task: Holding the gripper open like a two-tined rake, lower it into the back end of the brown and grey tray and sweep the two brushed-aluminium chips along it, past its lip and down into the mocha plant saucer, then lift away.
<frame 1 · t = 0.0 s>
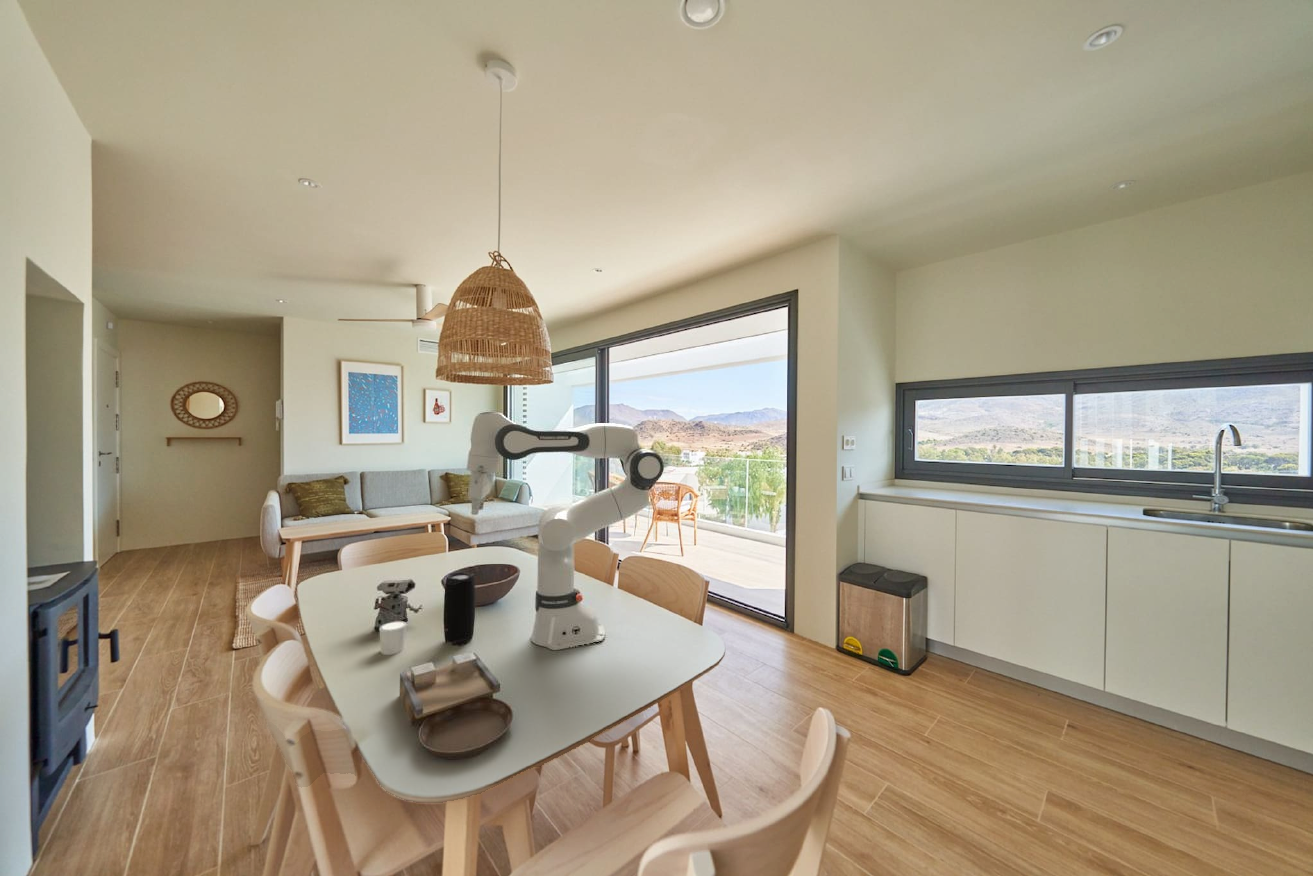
hand: (477, 511, 135), 39 cm above the table, tool pointing down, fingers open, 8 cm apart
brown and grey tray: (448, 701, 105), on the table
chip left: (464, 670, 111), point 4 cm above the table, touching brown and grey tray
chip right: (423, 681, 105), point 4 cm above the table, touching brown and grey tray
plant saucer: (467, 737, 93), on the table
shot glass: (392, 650, 130), on the table
portable speaker: (458, 641, 136), on the table
figurine: (396, 628, 145), on the table
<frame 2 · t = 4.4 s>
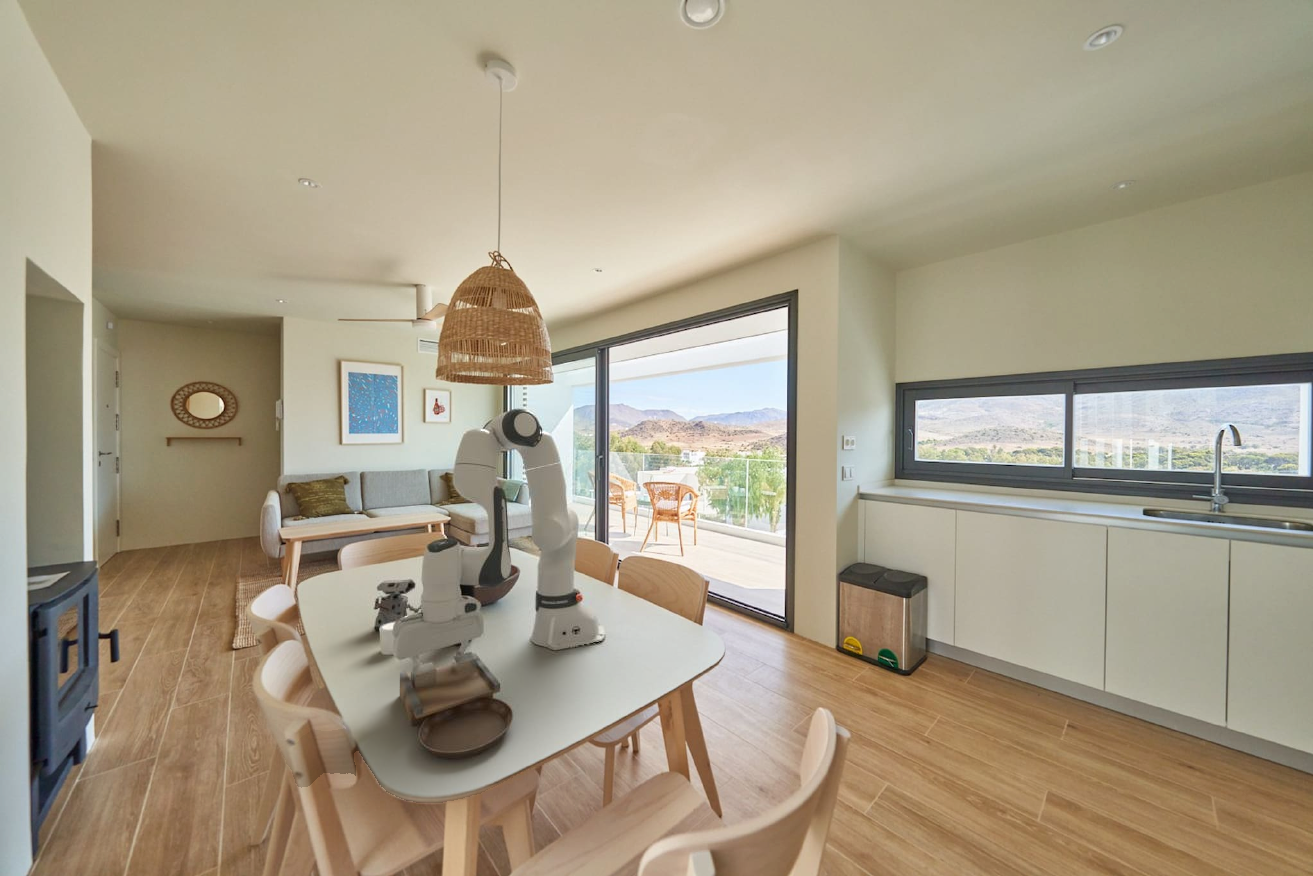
hand: (439, 665, 110), 5 cm above the table, tool pointing down, fingers open, 8 cm apart
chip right: (423, 681, 105), point 4 cm above the table, touching gripper
everything else where it was.
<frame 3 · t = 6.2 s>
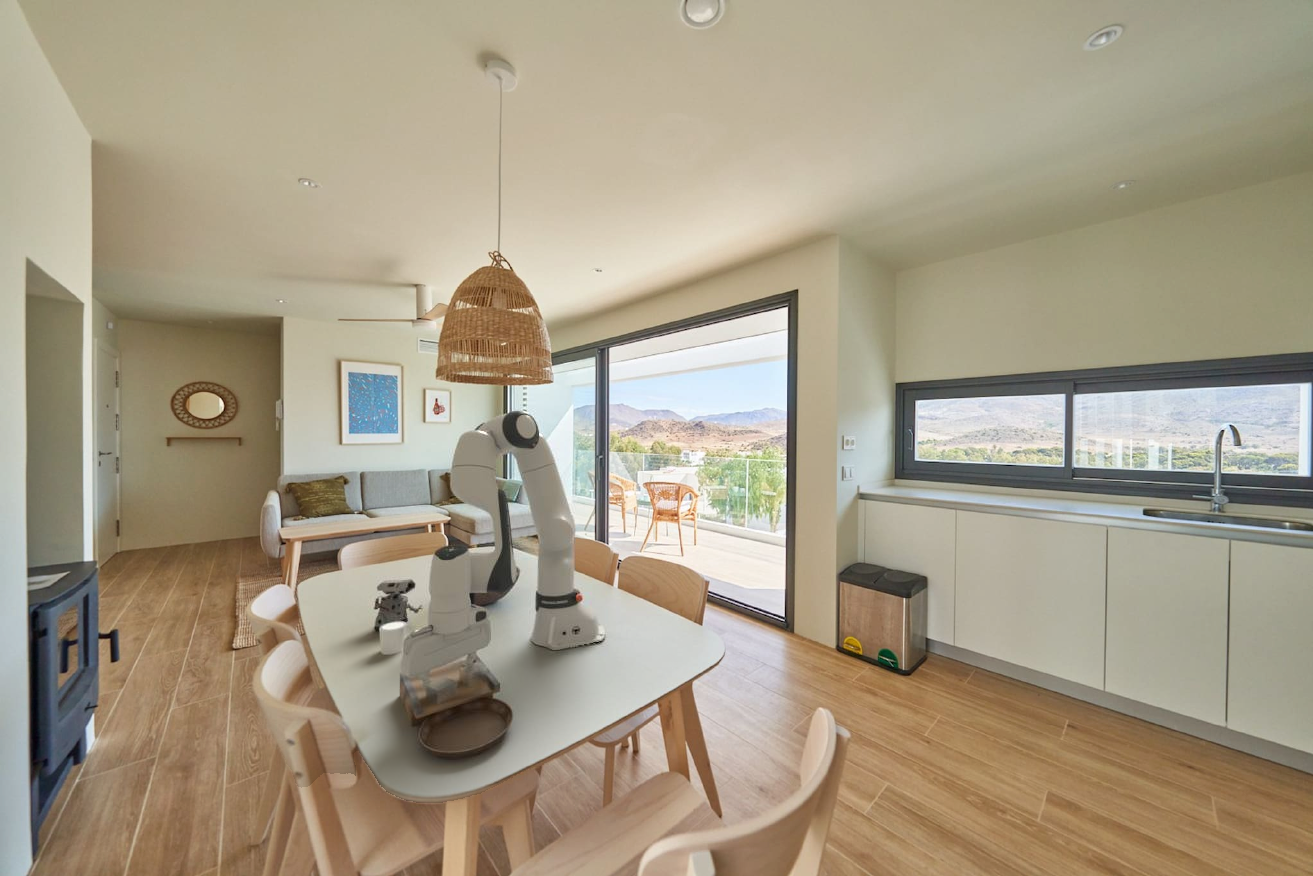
hand: (448, 679, 104), 5 cm above the table, tool pointing down, fingers open, 8 cm apart
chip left: (473, 681, 106), point 4 cm above the table, touching gripper
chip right: (441, 697, 99), point 4 cm above the table, touching brown and grey tray
everything else where it was.
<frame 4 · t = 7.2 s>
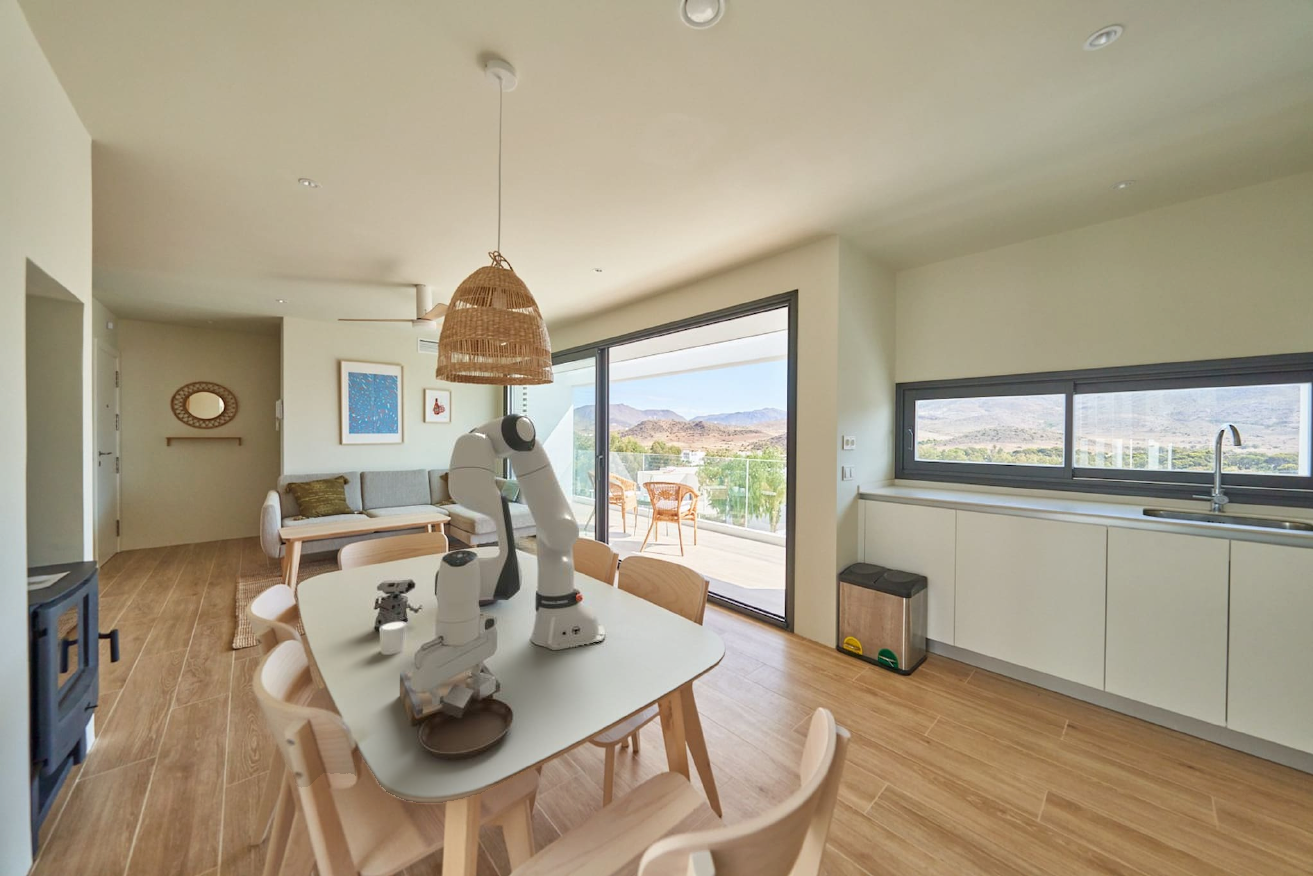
hand: (456, 692, 98), 5 cm above the table, tool pointing down, fingers open, 8 cm apart
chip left: (480, 692, 101), point 4 cm above the table, touching gripper
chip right: (456, 706, 96), point 4 cm above the table, tilted 25°, touching gripper, plant saucer, brown and grey tray
plant saucer: (467, 737, 93), on the table, touching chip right
everything else where it was.
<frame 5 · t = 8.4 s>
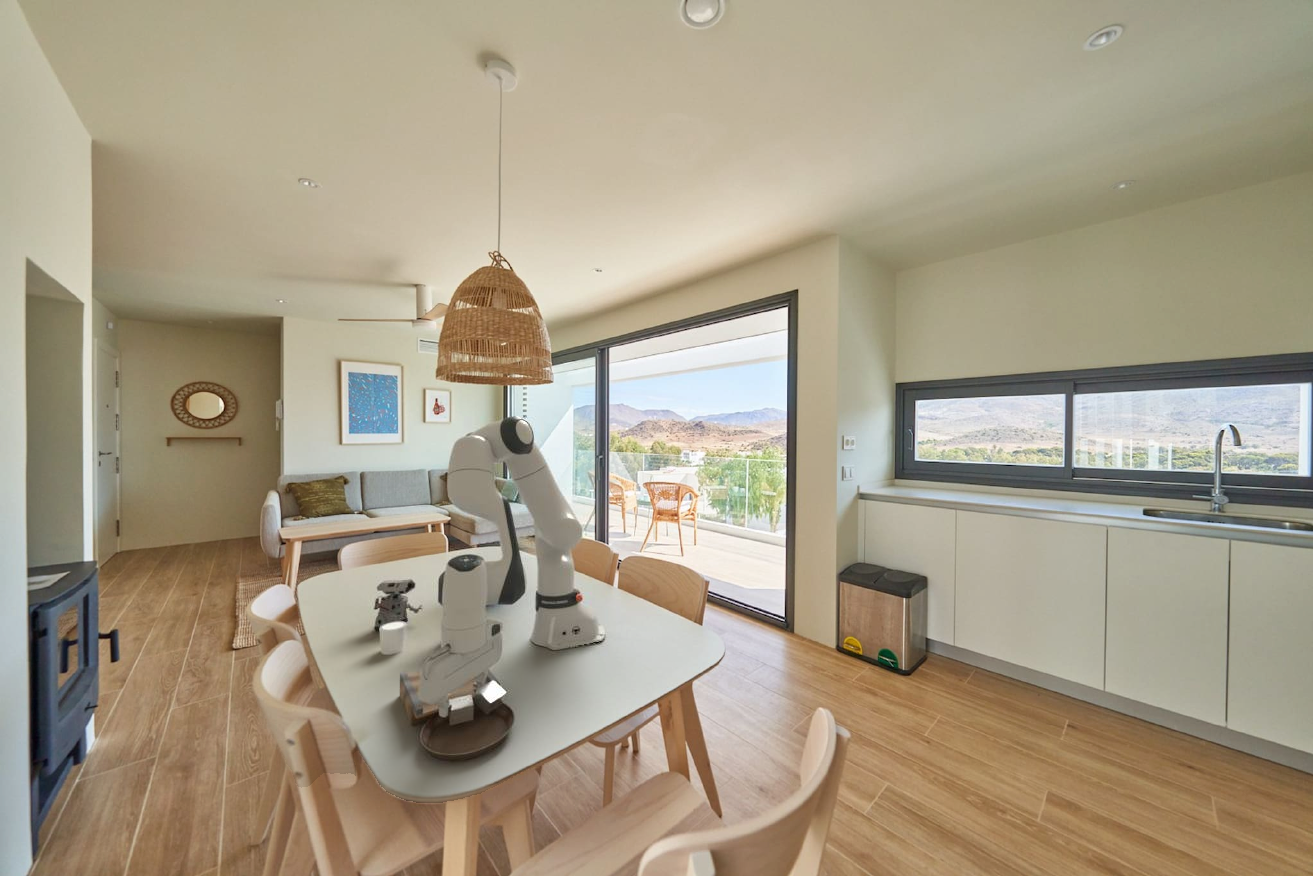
hand: (462, 702, 95), 5 cm above the table, tool pointing down, fingers open, 8 cm apart
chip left: (488, 702, 99), point 3 cm above the table, tilted 23°
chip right: (460, 716, 95), point 3 cm above the table, touching plant saucer
everything else where it was.
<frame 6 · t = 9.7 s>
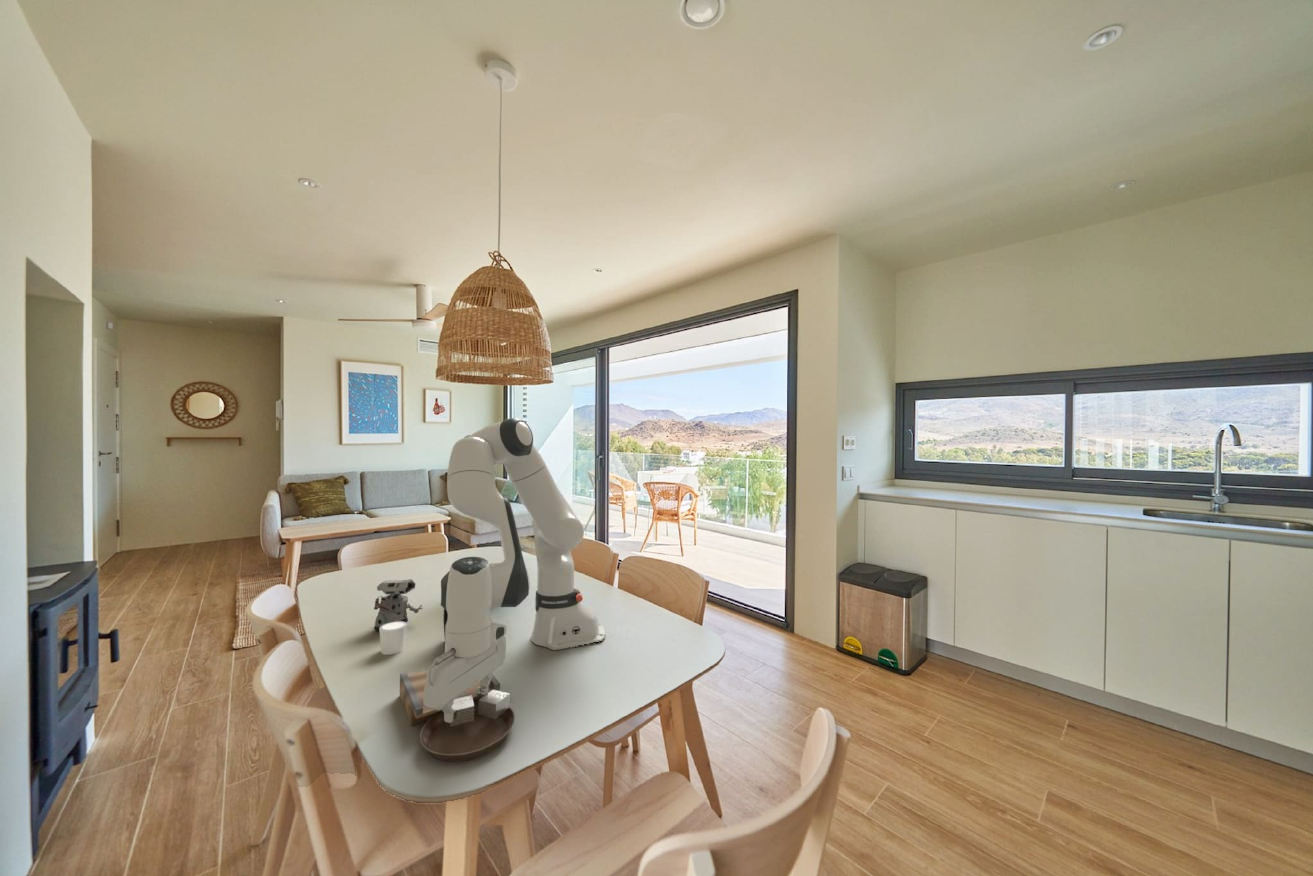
hand: (467, 707, 93), 5 cm above the table, tool pointing down, fingers open, 8 cm apart
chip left: (494, 710, 97), point 3 cm above the table, touching gripper, plant saucer
plant saucer: (468, 739, 92), on the table, touching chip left, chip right
everything else where it was.
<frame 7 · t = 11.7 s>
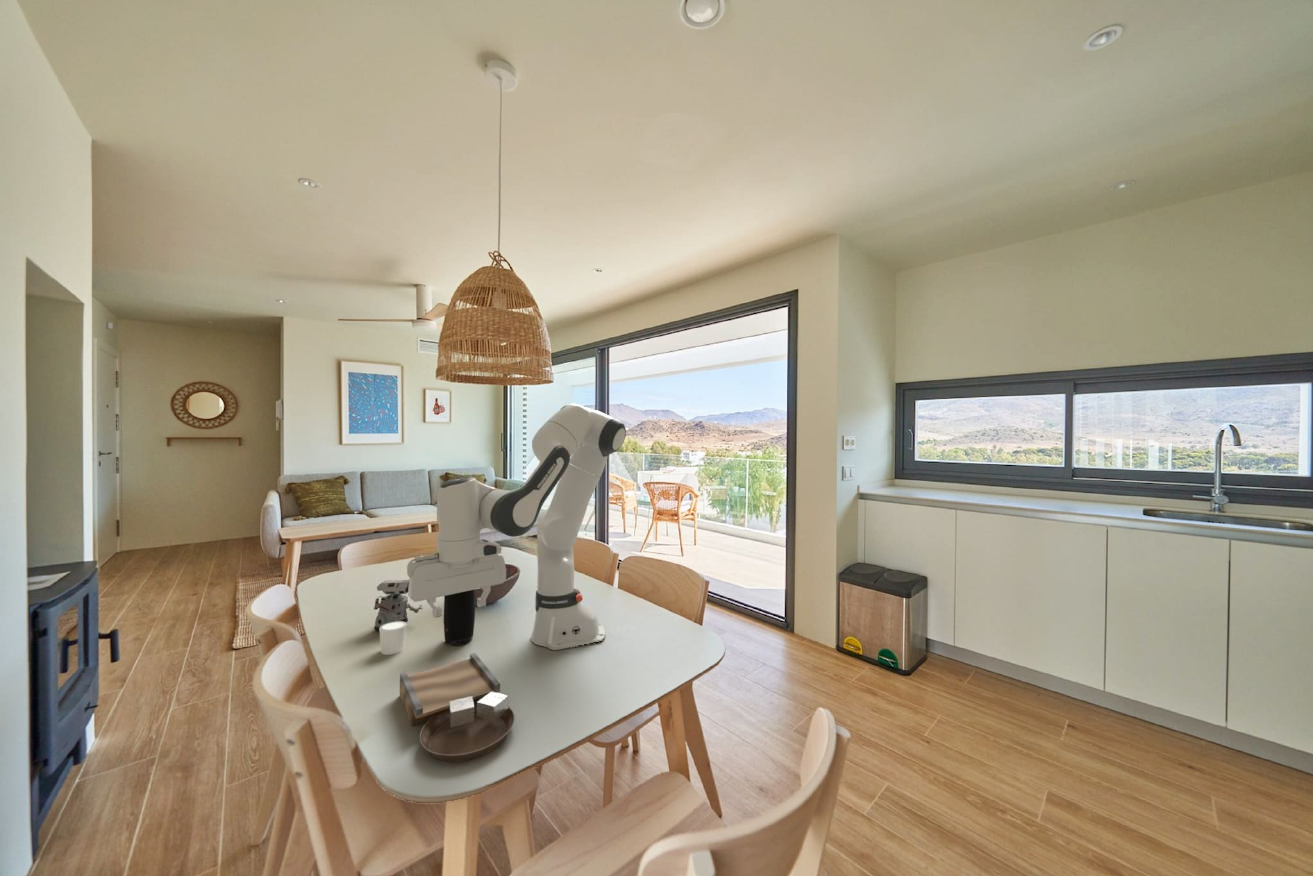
hand: (459, 611, 102), 22 cm above the table, tool pointing down, fingers open, 8 cm apart
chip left: (492, 713, 96), point 3 cm above the table, touching plant saucer
everything else where it was.
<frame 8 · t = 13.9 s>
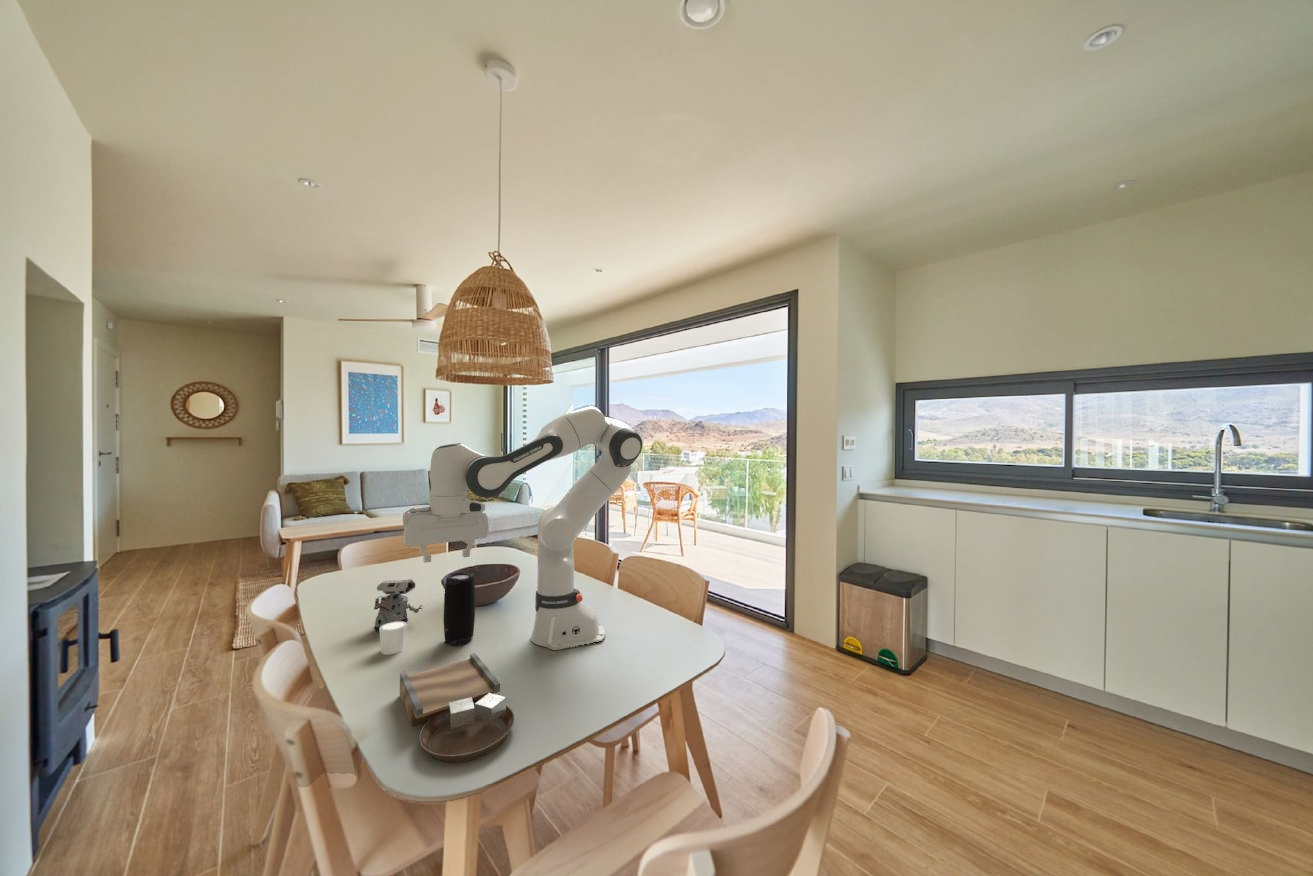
hand: (447, 559, 118), 29 cm above the table, tool pointing down, fingers open, 8 cm apart
at the end: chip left inside the target area in the plant saucer (4.6 cm from its centre), point 3.2 cm above the plant saucer's base; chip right inside the target area in the plant saucer (2.5 cm from its centre), point 3.2 cm above the plant saucer's base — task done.
